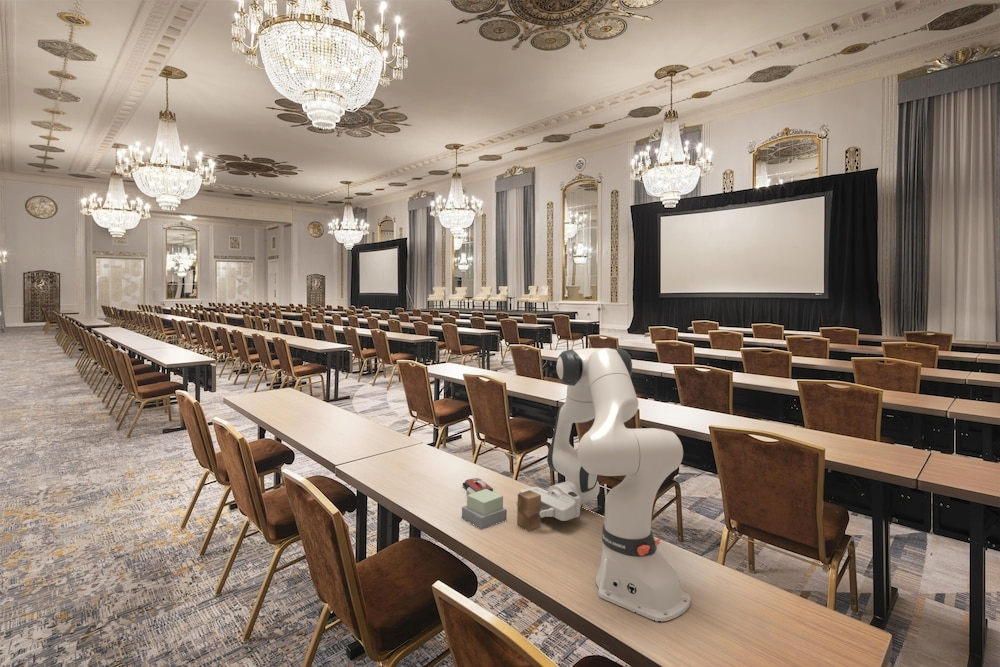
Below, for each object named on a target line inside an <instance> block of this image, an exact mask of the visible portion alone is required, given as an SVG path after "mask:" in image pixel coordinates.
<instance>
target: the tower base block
mask: <svg viewBox="0 0 1000 667" xmlns="http://www.w3.org/2000/svg"><path fill="white" fill-rule="evenodd" d="M507 512H508V510H507V508H504V507H503V509H500V510H497V511H495V512H492V513H490V514H487V515H485V516H483V515H481V514H479V513H477V512H475V511H473V510H471V509H469V508H467V505H465V506H461V518H462V520H464V519H465V520H464V521H466V520H467V521H466V522H467V523H469V522H470V523H469V524H471V525H473V524H474V525H475V527H476V526H477V528H478V527H479V528H478V529H479V530H484V529H487V528H489V527H488V526H490V527H492V526H495V525H497V524H496V523H498V524H500V523H499V522H501V523H503V522H502V521H504V522H506V521H507V516H508V515H507ZM505 520H506V521H505ZM494 524H495V525H494ZM474 525H473V526H474ZM491 525H492V526H491ZM486 527H487V528H486ZM483 528H484V529H483Z"/></svg>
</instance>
